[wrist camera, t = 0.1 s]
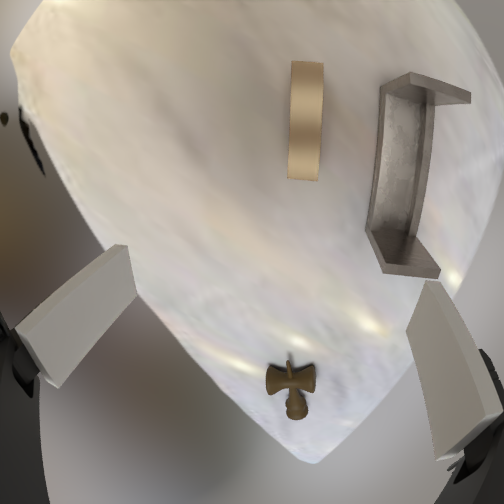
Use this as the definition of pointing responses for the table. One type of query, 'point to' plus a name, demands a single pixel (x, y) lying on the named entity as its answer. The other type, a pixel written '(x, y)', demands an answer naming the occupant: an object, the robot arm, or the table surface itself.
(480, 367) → the robot arm
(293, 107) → the door panel
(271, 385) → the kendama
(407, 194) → the grey u-shaped piece
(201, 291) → the table surface
